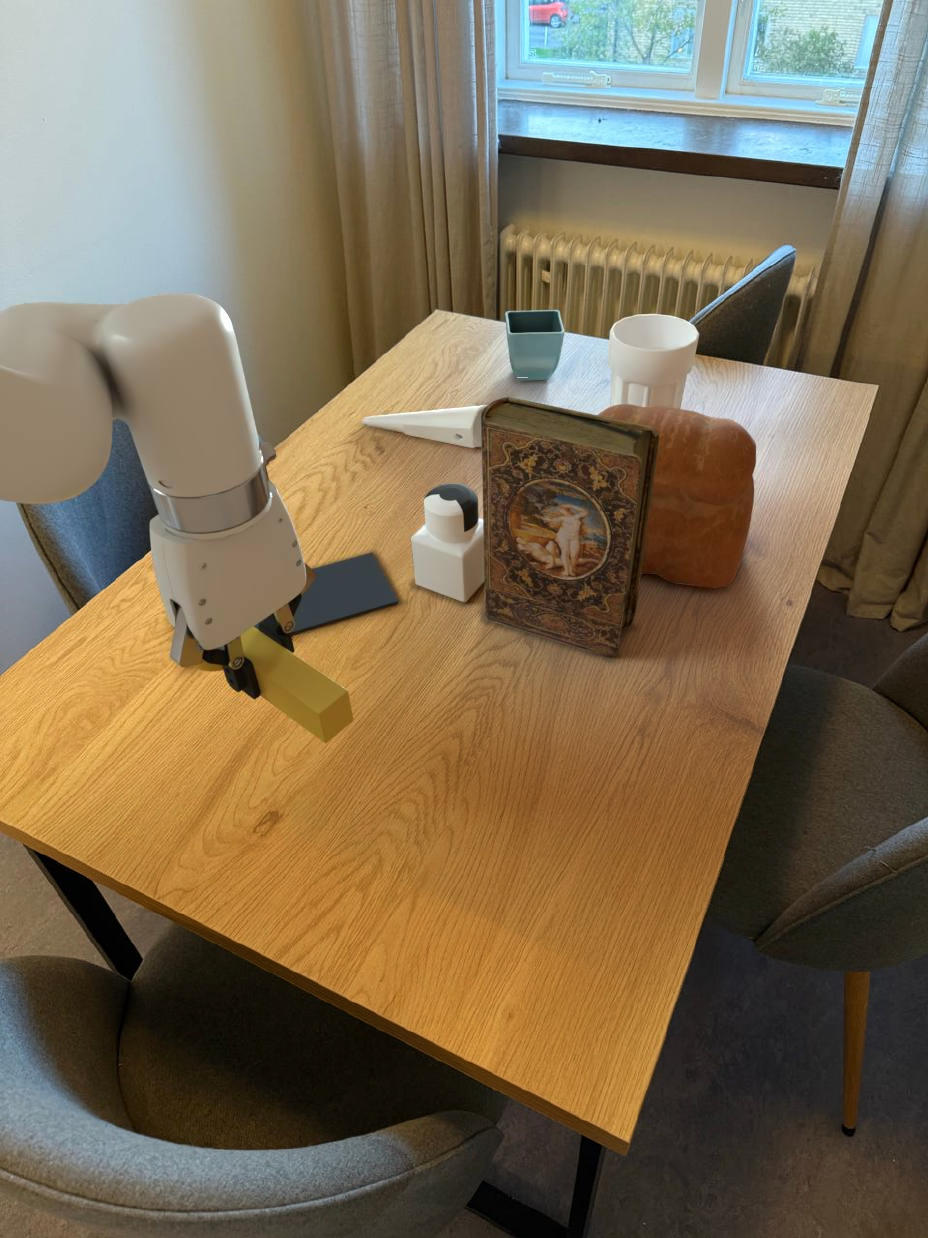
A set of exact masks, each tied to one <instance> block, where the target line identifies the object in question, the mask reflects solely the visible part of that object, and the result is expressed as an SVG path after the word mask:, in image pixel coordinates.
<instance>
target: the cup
mask: <svg viewBox="0 0 928 1238" xmlns="http://www.w3.org/2000/svg"><path fill="white" fill-rule="evenodd" d="M699 338H700V333H699V331H698V330H697V327H696V326H695V325H694V324H692V323H690V322H689V321H687V320H686V319H683V318H680V317H677V316H673V315H668V314H667V315H666V314H659V313H646V314H645V313H644V314H635V315H630V316H627V317H623V318H621V319H620V320H618V321H616V322H615V323H614V324H613V325H612V326H611V328H610V330H609V338H608V339H609V341H608V359H607V362H608V365H609V367H610V369H611V379H610V381H611V382H610V397H609V398H610V399H609V407H612V406H615V405H620V404H630V405H635V406H640V407H654V406H656V407H671V408H677V409H682V408H681V407H682V403H683V397H684V393H685V392H684V391H685V387H686V382H687V377H688V375H689V374H690V373H691V371H692V369H693V366H694V362H695V358H696V353H697V347H698V344H699Z"/></svg>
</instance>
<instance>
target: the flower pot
mask: <svg viewBox="0 0 928 1238" xmlns="http://www.w3.org/2000/svg"><path fill="white" fill-rule="evenodd" d="M504 316H505V317H504V318H505V330H506V341H507V348H508V357H509V363H510V368H511V370H512V373H513V375H514V377H515V378H516V380H517V381H519V382H527V381H530V382H531V381H549V380H550V378H551V377H552V376H553V375H554V373H555V371H556V370H557V367H558V365H559V362H560V360H561V356H562V355H561V354H562V351H563V350H562V349H563V343H564V337H565V328H564V325H563V321H562V317H561V312H560V310H558V309H544V310H543V309H542V310H540V309H539V310H509V311H505V313H504ZM517 377H528V378H517Z"/></svg>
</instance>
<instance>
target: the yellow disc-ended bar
mask: <svg viewBox="0 0 928 1238" xmlns="http://www.w3.org/2000/svg"><path fill="white" fill-rule="evenodd" d="M240 636H241V642H242V648H243V654H244V656H245V657H246V658H248V659H249V660H250V661H251V662H252V663H253V666H254V671H255V674H256V678H257V681H258V684H259V688H260V691H261V693H260V696H259V697H261V698H263V699H264V700H265V701H267V702H268V703H270V704H271V705H272V706H273V707H275V708H276V709H278V710H279V711H280V712H281V713H283V714H285V715H286V716H287V717H288V718H290V719H291V720H292V721H294V722H295V723H296V724H298V725H299V726H301V727H302V728H304V729H305V730H306V731H307V732H309V733H310V734H312V735H313V736H314V737H315V738H317V739H318V740H320V741H321V742H323V743H324V744H327V743H329V742H330V741H331V740H332V739H333V738H334V737H336V736H338V735H339V733H341V732H342V731H343V730H344V729H345V728H347V727H348V726H349V725H351V723H353V722H354V714H353V710H352V704H351V698H350V693H349V690H348V689H346V688H345V687H344V686H342V685H340V684H339V683H337V682H336V681H335V680H333V678H330V677H329V676H327V675H326V674H324V673H323V672H321V671H320V670H318V669H317V668H315V667H314V666H313V665H311V664H309V663H308V662H306V661H305V660H304V659H302V658H301V657H299V656H297V655H296V654H295V653H292V652H290V651H289V650H287V649H286V648H284V647H282V646H281V645H279V644H278V643H277V642H275V641H274V640H272V639H271V638H269V637H268V636H266V635H265V634H263V633H262V632H260V631H259V630H258V629H256V628H255V627H252V628H250V629H249V630H247V631H246V632H244V633H243V634H241V635H240ZM197 641H198V640H197ZM192 667H193V668H195V669H196V670H198V671H204V672H220V671H221V672H222V671H223V668H222V665H217V664H209V663H207V662H203V663H201V664H198V665H193V666H192Z"/></svg>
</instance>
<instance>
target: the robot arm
mask: <svg viewBox="0 0 928 1238" xmlns="http://www.w3.org/2000/svg"><path fill="white" fill-rule="evenodd" d="M243 368H244V367H243V363H242V359H241V355H240V350H239V346H238V342H237V337H236V333H235V330H234V325H233V323H232V321H231V319H230V317H229V315H228V314H227V312H226V311H225V309H224V308H223V307H222V306H221V305H220V304H219V303H217V302H216V301H215V300H213V299H210V298H208V297H206V296H203V295H202V294H201V295H200V294H197V293H189V292H188V293H187V292H167V293H158V294H153V295H148V296H145V297H141V298H138V299H135V300H132V301H129V302H127V303H90V302H89V303H87V302H86V303H85V302H84V303H83V302H66V301H65V302H61V301H35V302H24V303H19V304H16V305H11V306H8V307H6V308H4V309H2V310H0V501H5V502H9V503H16V504H23V505H48V504H55V503H61V502H64V501H68V500H70V499H75V498H77V497H78V496H80V495H82V494H83V493H85V492H87V491H88V490H89V489H90V488H91V487H92V486H93V485H94V484H96V483H97V482H98V480H99V479H100V478H101V476H102V474H104V472H105V470H106V468H107V465H108V463H109V460H110V458H111V453H112V444H113V443H112V442H113V428H114V420H120V421H122V422H123V423H125V424H126V425H127V427H128V429H129V431H130V435H131V438H132V440H133V443H134V446H135V449H136V451H137V454H138V458H139V460H140V463H141V467H142V469H143V472H144V476H145V479H146V482H147V484H148V485H147V486H148V488H149V490H150V493H151V497H152V500H153V502H154V506H155V508H156V510H157V513H158V514H157V515H155V516H154V517H153V518H151V519H150V521H149V542H150V552H151V557H152V565H153V569H154V573H155V578H156V583H157V587H158V592H159V595H160V598H161V602H162V605H163V608H164V611H165V614H166V617H167V620H168V622H169V624H170V625H171V626H172V627H173V628H174V630H173V634H172V635H173V636H172V641H171V647H170V651H169V658H170V660H171V661H173V662H175V664H177V665H179V666H180V667H181V668H187V667H193V665H198V664H201V663H203V662H207V663H209V664H217V665H222V668H223V670H222V671H223V673H224V676H225V680H226V682H227V684H228V686H229V687H230V688H231V689H232V690H234V691H235V692H237V693H240V692H243V693H245V695H247V696H249V697H250V698H251V699H253V700H254V701H255V700H256V699H258V698H259V697H261V696H260V693H261V691H260V688H259V684H258V681H257V678H256V674H255V671H254V666H253V663H252V662H251V661H250V660H249V659H248V658H246V657H245V656H244V654H243V648H242V642H241V636H240V635H241V634H243V633H244V632H246V631H247V630H249V629H250V628H252V627H253V626H255V625H256V624H258V623H259V627H258V628H259V631H260V632H262V633H263V634H265V635H266V636H268V637H269V638H271V639H272V640H274V641H275V642H277V643H278V644H279V645H281V646H282V647H284V648H286V649H287V650H289V651H290V652H292V653H293V654H295V646H294V642H293V637H292V635H291V633H290V632H291V631H292V630H293V629H294V627H295V621H294V618H293V617H294V615H295V612H296V610H297V608H298V606H299V604H300V602H301V599H302V593H303V594H304V593H305V591H306V590H307V589H308V587H309V586H310V585H311V583H312V582H313V580H314V579H315V577H316V573H315V571H313V570H312V569H313V568H311V566H309V565H308V564H307V563H306V562H305V558H304V555H303V551H302V547H301V543H300V541H299V538H298V533H297V531H296V529H295V528H296V527H295V525H294V523H293V520H292V518H291V515H290V513H289V510H288V508H287V506H286V504H285V502H284V500H283V498H282V496H281V494H280V492H279V490H278V488H277V486H276V485H275V484H274V483H273V482H272V481H271V480H270V479H269V473H268V469H267V466H268V465H270V463H271V462H273V461H275V460H276V459H277V452H276V449H275V448H274V447H273V445H272V444H271V443H270V442H268V441H265V442H262V443H261V444H260V439H259V434H258V431H257V426H256V422H255V418H254V413H253V409H252V405H251V400H250V395H249V391H248V386H247V382H246V378H245V373H244V369H243ZM197 640H198V641H197Z"/></svg>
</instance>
